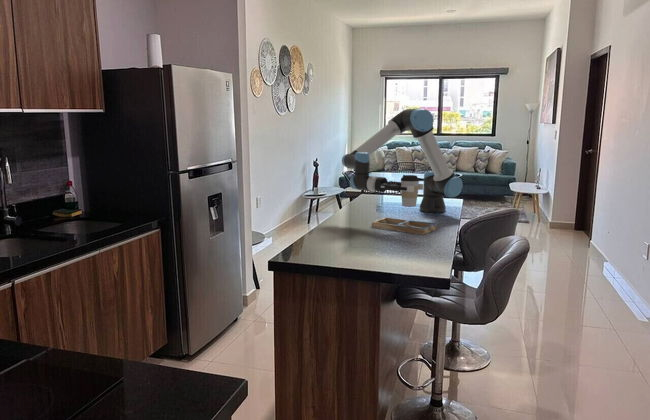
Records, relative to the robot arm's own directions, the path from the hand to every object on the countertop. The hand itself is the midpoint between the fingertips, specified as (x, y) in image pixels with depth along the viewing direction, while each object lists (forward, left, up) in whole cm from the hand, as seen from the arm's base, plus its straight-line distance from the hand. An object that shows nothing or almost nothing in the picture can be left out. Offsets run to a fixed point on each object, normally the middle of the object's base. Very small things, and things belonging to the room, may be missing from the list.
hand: (418, 188), depth 232 cm
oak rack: (-1, -7, -21) cm, 22 cm away
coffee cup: (0, -5, -9) cm, 10 cm away
